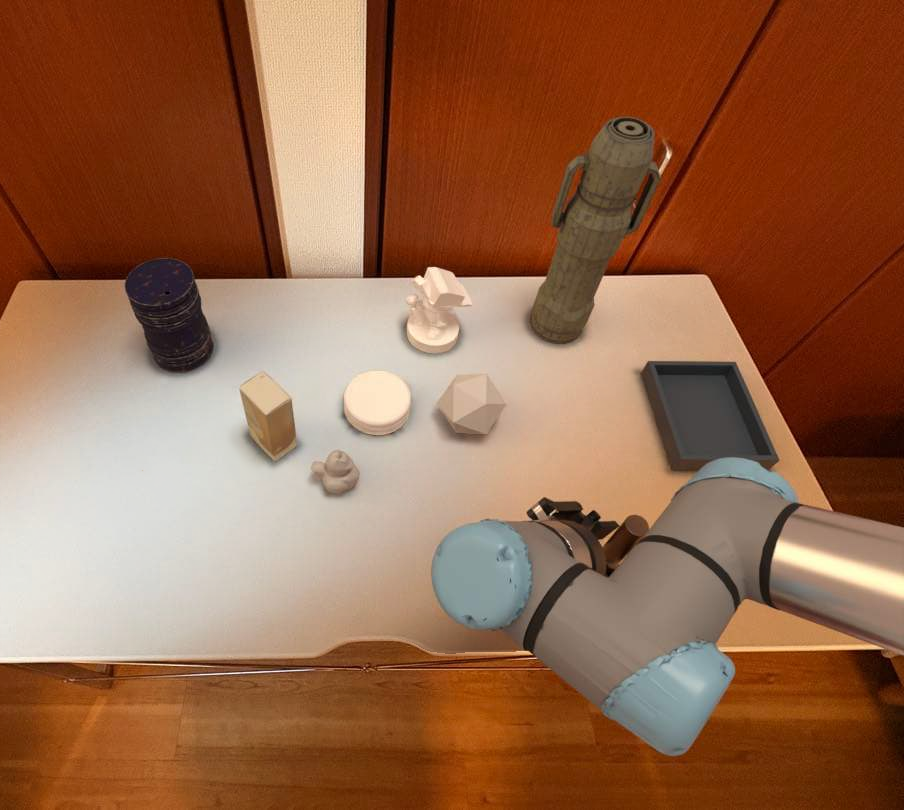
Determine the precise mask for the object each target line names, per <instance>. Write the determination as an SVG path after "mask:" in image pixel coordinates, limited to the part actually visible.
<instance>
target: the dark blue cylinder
mask: <svg viewBox="0 0 904 810" xmlns="http://www.w3.org/2000/svg"><path fill="white" fill-rule="evenodd" d="M193 272H194V271H193V270H192V268H191V267H190V266H189V265H188V264H187V263H185V262H183V261H182V260H179V259H176V258H171V257H162V258H154V259H151V260H147V261H145V262H143V263H140V264H139V265H137V266H135V268H133V269H132V270H131V271H130V272H129V273H128V275H127V276H126V278H125V281H124V291H125V293H126V296H127V298H128V300H129V305H130V307H131V309H132V312H133V313H134V316H135V318H136V320H137V321H138V322H139V324H140V325H141V327H142V329H143V335H144V339H145V341H146V345H147V348H148V350H149V351H150V353H151V355H152V357H153V359H154V363H156V365H157V366H158V367H159V368H160V369H162V370H164V371H165V372H169V373H175V374H181V373H188V372H192V371H194V370H197V369H199V368H201V367H202V366H204V365H205V364H206V363H208V361H209V360H210V358H211V357H212V355H213V352H214V341H213V338H212V332H211V331H212V330H211V328H210V325H209V322H208V320H207V317H206V316H205V314H204V312H203V309H202V297H201V295H200V294H201V293H200V291H199V287H198V284H197V282H196V279H195V275H194V273H193Z"/></svg>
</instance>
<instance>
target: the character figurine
mask: <svg viewBox="0 0 904 810" xmlns="http://www.w3.org/2000/svg"><path fill="white" fill-rule="evenodd" d="M410 283H411V284H412V285H414V286H413V288H414V289H416V290H417V291H418V292H419V293H421V294H422V298H421V299H420V298H419V296H418V294H415V293H413V294H409V296H407V298H406V300H405V302H406V304H407V306H409V308H408V311H409V313H410V315H409V317H408V319H407V323H406V337H407V339H408V342H409V343H410V344H411V345H412V346H413V347H414V348H415V349H417V350H419V351H420V352H423V353H428V354H436V355H437V354H443V353H445V352H447V351H450V350H451V349H452V348H453V347H454V346H455V345H456V343H457V341H458V337H459V332H460V324H459V321H458V319H457V317H456V315H454V314H453V308H455V307H457V308H458V307H462V308H463V307H466V308H467V307H468V308H469V307H472V306H473V302H472V299H471V298H470V295H469V294H468V292H467V290H466V288H465V287H464V285H463V283H459V281H458V278H457V277H456V276H455V273H453V271H450V270H447V269H444V268H440V267H436V266H428V267H427V268H426V270H425V274H424V276H423V277H422V276H421V275H416V276H415V277H413V279H412V280H411V281H410Z"/></svg>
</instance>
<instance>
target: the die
mask: <svg viewBox="0 0 904 810" xmlns="http://www.w3.org/2000/svg"><path fill="white" fill-rule="evenodd" d="M436 405H437V407H438V408H439V410H440V411H441V413H442V414H443V416H444V418H445V419H446V420H447V423H449V425H450V427H452V429H453V430H454V433H456V434H470V435H471V434H475V435H488V433H489V431H490V430H491V428H492V427H493V425H494V424H495V423H496V421H497V419H498V418H499V416H500V415H501V414H502V412H503V410H504V409H505V407H507V405H508V403H507V402H506V401H505V399H504V398H503V396H502V395H501V393H500V391H499V390H498V388H497V387H496V386H495V384H494V382H493V381H492V379H491V378H490V376H489V375H488V373H478V374H477V373H475V374H474V373H473V374H472V373H471V374H456V375H454V378H453V379H452V380H451V382H450V384H449V385H448V386H447V387H446V389H445V391H444V392H443V394H442V395H441V396H440V398H439V399H438V401H437V402H436Z"/></svg>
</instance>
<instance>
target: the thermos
mask: <svg viewBox="0 0 904 810" xmlns="http://www.w3.org/2000/svg"><path fill="white" fill-rule="evenodd" d="M655 133H656V132H655V130H654V128H653V127H652V126H651V125H649V124H648V123H647V122H645V121H643V120H642V119H639V118H638V117H637V118H636V117H632V116H619V117H613V118H611V119H609V120H607V121H606V122H605V124H604V125H603V126H602V127H601V129H600V130H599V131H598V133H597V134H596V136H595V137H594V138H593V140H592V142H591V144H590V147H589V150H588V152H584V153H583V155H577V156H575V158H573V159H572V160H571V161H569V163H568V164H567V165H566V167H565V172H564V174H563V177H562V181H561V184H560V187H559V191H558V194H557V197H556V200H555V204H554V205H553V206H554V207H553V210H552V211H553V212H552V214H551V226H552V228H557V229H558V230H557V236H556V239H557V244H556V247H555V249H554V253H553V256H552V260H551V262H550V264H549V268H548V271H547V274H546V277H545V280H543V282H542V283H541V285H540V286H539V287H538V291H537V294H536V297H535V298H534V299H535V300H534V303H533V307H532V310H531V311H532V313H531V315H530V320H529V324H530V328H531V330H532V331H533V333H534V334H535V335H536V336H537V337H539V338H540V339H541V340H542V341H544V342H545V341H546V342H547V343H551V344H555V345H567V344H570V343H573V342H574V341H576V340H577V339H579V338H580V337H581V334H582V332H583V329H584V328H585V327H586V325H587V323H588V321H589V319H590V317H591V315H592V312H593V310H594V308H595V297H596V293H597V292H598V289H599V287H600V285H601V282H602V280H603V277H604V275H605V273H606V271H607V268H608V266H609V263H610V262H611V259H612V258H613V257H614V256H615V255H616V254H617V253H618V251H619V249H620V247H621V245H622V242H623V240H625V239H626V237H627V236H629V235H631V234H633V233H635V232H637V231H638V230H639V228H640V226H641V225H642V222H643V219H644V217H645V214H646V212H647V210H648V208H649V206H650V204H651V202H652V199H653V197H654V195H655V193H656V190H657V189H658V186H659V184H660V181H661V178H662V175H661V173H660V171H659V167H658V164H657V162H656V161H653V159H654V150H655V135H656V134H655ZM579 169H582V171H581V175H580V179H579V180H580V182H579V183H578V184H577V186H576V189H575V192H574V193H573V194H572V196H571V197H570V198H569V199H568V196H569V193H570V189H571V187H572V183H573V180H574V177H575V174H576V172H577V171H578V170H579ZM648 175H649V176H648ZM647 176H648V178H647V180H646V181H645V182H646V183H645V185H644V187H643V188H642V189H643V190H642V192H641V194H640V196H639V199H638V201H637V203H636V205H635V207H634V210H633V205H634V203H635V200H636V195H637V194H638V192H639V191H640V188H641V186H642V184H643V181H644V180H645V178H646V177H647ZM567 199H568V201H567ZM564 208H565V209H564ZM632 211H633V212H632Z"/></svg>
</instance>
